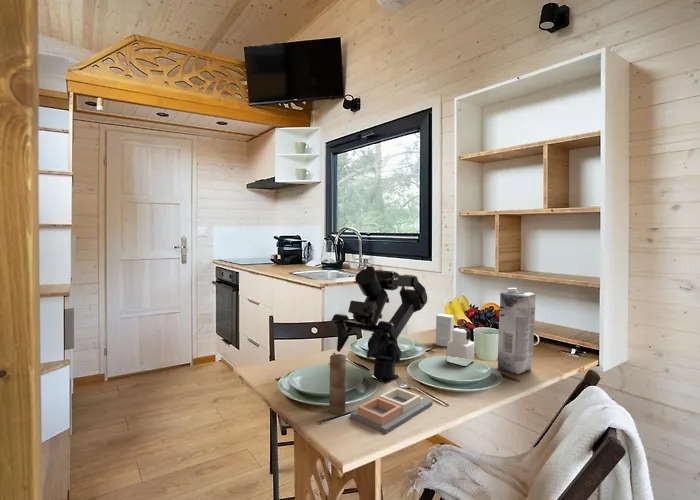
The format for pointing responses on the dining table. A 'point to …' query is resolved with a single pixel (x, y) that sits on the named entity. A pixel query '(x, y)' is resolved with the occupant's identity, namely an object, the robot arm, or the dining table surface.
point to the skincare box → (444, 329)
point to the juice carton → (516, 330)
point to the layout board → (390, 409)
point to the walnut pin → (337, 384)
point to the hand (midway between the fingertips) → (352, 354)
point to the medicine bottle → (461, 344)
